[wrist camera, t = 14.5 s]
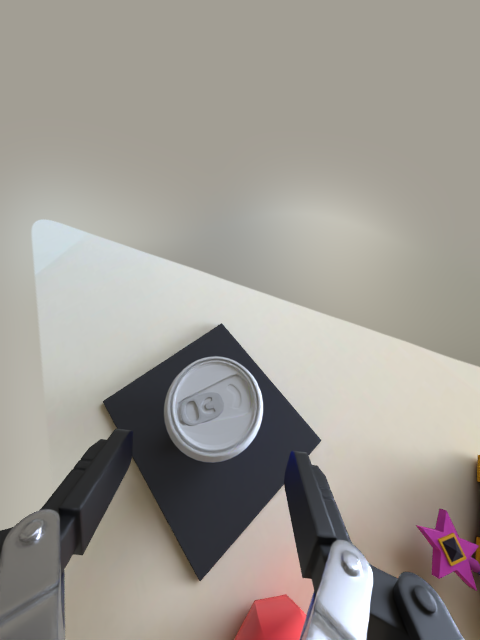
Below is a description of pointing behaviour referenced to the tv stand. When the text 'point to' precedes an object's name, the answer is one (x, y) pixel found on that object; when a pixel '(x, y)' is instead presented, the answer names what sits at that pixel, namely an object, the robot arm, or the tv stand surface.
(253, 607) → the apple
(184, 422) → the beverage can
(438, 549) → the book
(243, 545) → the tv stand surface
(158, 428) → the mat
